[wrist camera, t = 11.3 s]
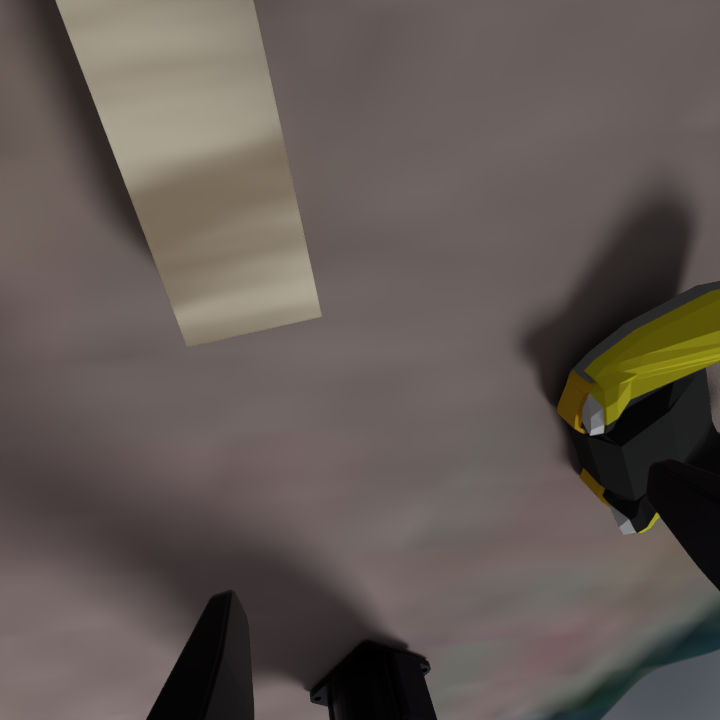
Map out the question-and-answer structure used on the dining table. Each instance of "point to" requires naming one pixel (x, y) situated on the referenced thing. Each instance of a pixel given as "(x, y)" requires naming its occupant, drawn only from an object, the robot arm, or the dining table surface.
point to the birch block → (200, 157)
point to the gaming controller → (646, 402)
